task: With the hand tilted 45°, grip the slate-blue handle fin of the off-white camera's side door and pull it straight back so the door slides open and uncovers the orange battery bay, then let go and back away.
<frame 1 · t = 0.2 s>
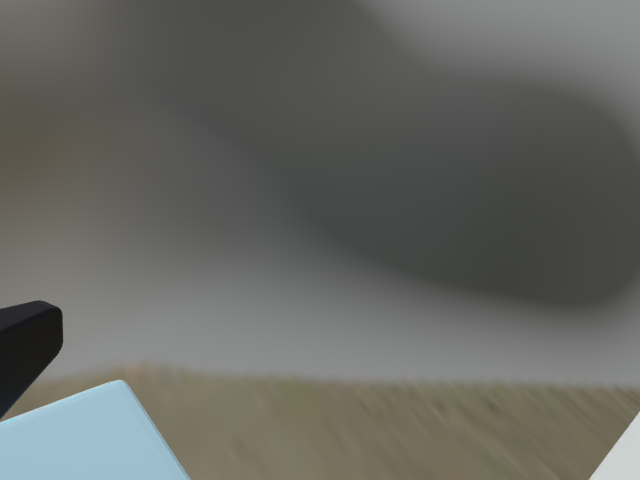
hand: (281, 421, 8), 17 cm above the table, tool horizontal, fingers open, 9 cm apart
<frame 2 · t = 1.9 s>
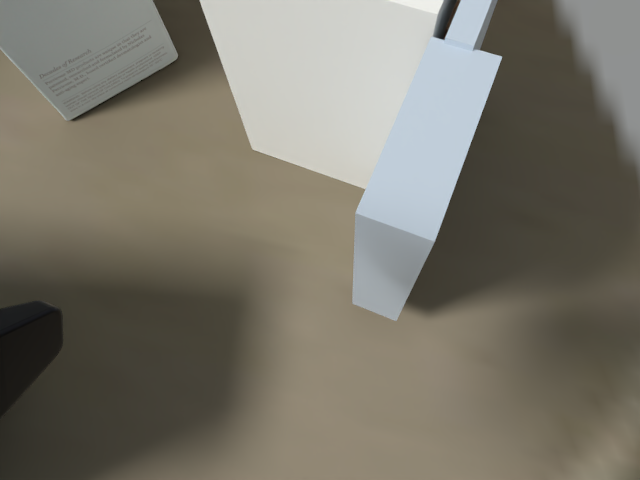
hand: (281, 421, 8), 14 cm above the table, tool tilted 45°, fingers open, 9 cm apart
camera side door: (447, 114, 19), point 6 cm above the table, slide at 0.0 cm
action camera body: (351, 111, 26), on the table
supplement box: (100, 52, 29), on the table
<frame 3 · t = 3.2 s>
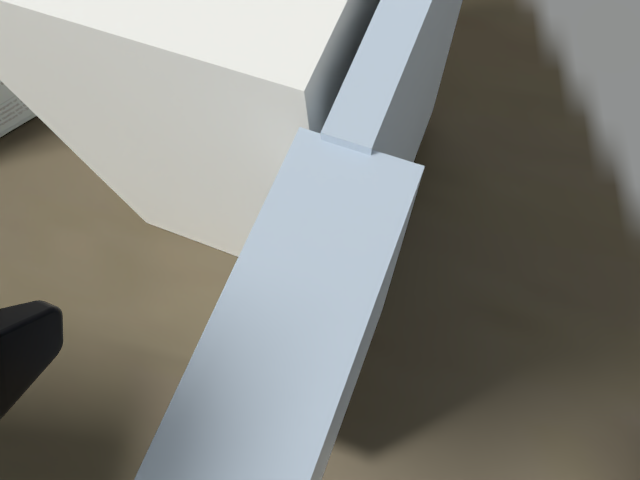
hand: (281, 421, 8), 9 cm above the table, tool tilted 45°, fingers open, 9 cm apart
camera side door: (376, 204, 13), point 6 cm above the table, slide at 0.0 cm
action camera body: (276, 169, 20), on the table
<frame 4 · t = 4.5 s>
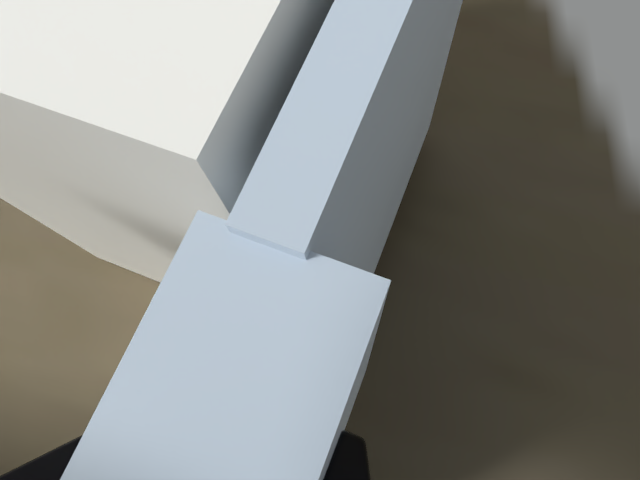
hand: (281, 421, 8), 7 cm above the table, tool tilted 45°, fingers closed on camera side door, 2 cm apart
camera side door: (350, 262, 10), point 6 cm above the table, slide at 0.0 cm, touching gripper
action camera body: (248, 195, 18), on the table
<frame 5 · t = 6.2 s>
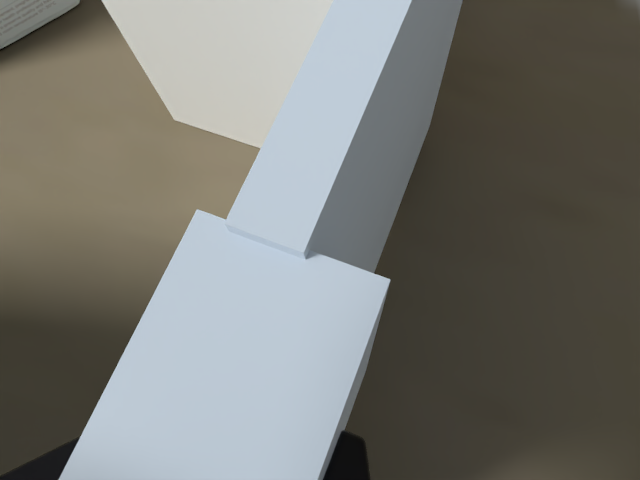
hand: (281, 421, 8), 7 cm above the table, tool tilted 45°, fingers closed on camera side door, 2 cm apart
camera side door: (350, 262, 10), point 6 cm above the table, slide at 5.9 cm, touching gripper
action camera body: (310, 66, 19), on the table
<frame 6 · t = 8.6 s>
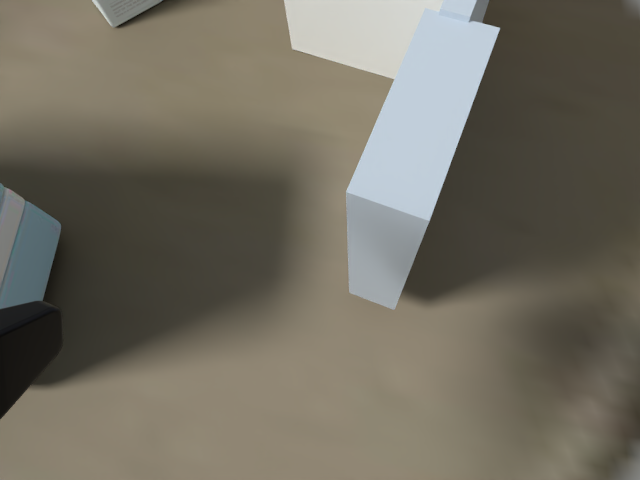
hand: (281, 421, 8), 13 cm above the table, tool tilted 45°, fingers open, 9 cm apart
camera side door: (444, 95, 18), point 6 cm above the table, slide at 5.9 cm
action camera body: (386, 13, 27), on the table
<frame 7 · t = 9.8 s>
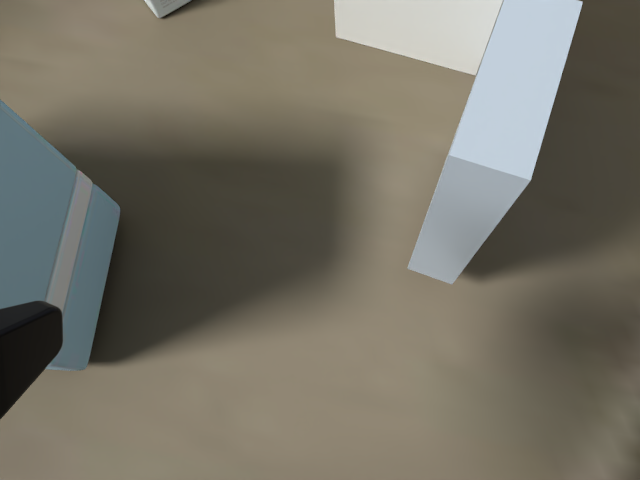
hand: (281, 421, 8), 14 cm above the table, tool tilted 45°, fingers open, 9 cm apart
camera side door: (504, 74, 19), point 6 cm above the table, slide at 5.9 cm
action camera body: (426, 1, 28), on the table
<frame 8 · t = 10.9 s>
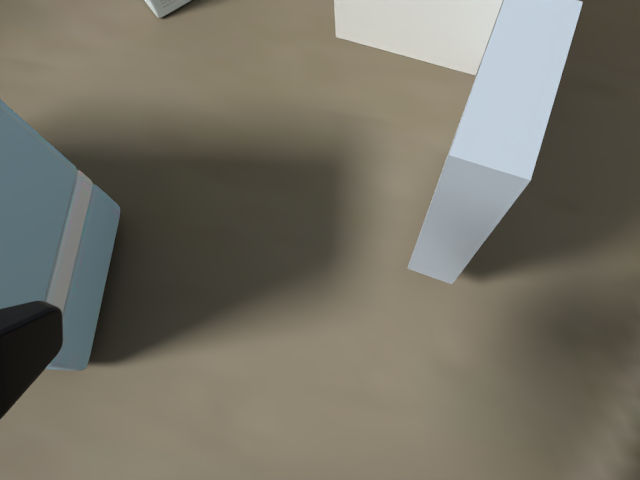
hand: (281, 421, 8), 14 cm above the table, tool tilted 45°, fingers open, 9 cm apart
camera side door: (504, 74, 19), point 6 cm above the table, slide at 5.9 cm
action camera body: (426, 1, 28), on the table
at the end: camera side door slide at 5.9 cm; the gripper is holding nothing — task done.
